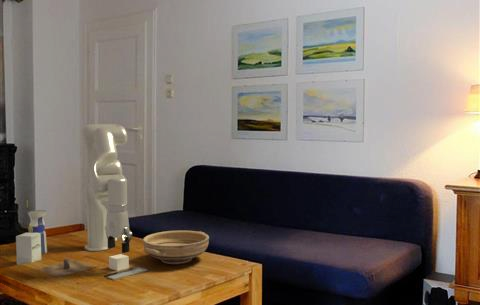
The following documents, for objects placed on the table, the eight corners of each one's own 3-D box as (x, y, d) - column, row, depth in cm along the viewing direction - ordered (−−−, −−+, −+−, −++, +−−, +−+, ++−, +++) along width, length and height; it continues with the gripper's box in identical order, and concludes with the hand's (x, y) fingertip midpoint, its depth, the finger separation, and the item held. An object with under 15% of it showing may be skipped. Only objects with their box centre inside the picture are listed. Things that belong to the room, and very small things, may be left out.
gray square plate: (124, 263, 216) (124, 262, 216) (147, 270, 206) (147, 269, 206) (90, 272, 205) (90, 270, 205) (113, 280, 194) (113, 278, 194)
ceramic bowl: (173, 276, 198) (173, 251, 197) (121, 265, 213) (121, 242, 213) (227, 255, 229) (227, 233, 228) (178, 247, 244) (178, 226, 244)
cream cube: (109, 270, 205) (108, 256, 205) (120, 267, 209) (120, 254, 209) (117, 273, 201) (117, 259, 201) (129, 269, 205) (128, 256, 205)
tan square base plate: (74, 263, 217) (74, 252, 216) (95, 271, 206) (94, 258, 206) (38, 272, 205) (37, 260, 205) (58, 280, 194) (58, 267, 194)
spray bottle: (34, 256, 230) (32, 201, 229) (25, 253, 236) (23, 199, 234) (51, 252, 236) (49, 199, 235) (42, 249, 242) (40, 197, 240)
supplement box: (31, 266, 214) (30, 236, 213) (16, 265, 216) (15, 235, 215) (42, 261, 221) (41, 232, 221) (26, 260, 223) (25, 232, 222)
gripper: (97, 206, 207) (98, 248, 208) (122, 212, 195) (123, 256, 197) (113, 204, 212) (113, 244, 214) (138, 209, 201) (139, 252, 202)
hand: (118, 250), depth 205 cm, fingers open, 9 cm apart
